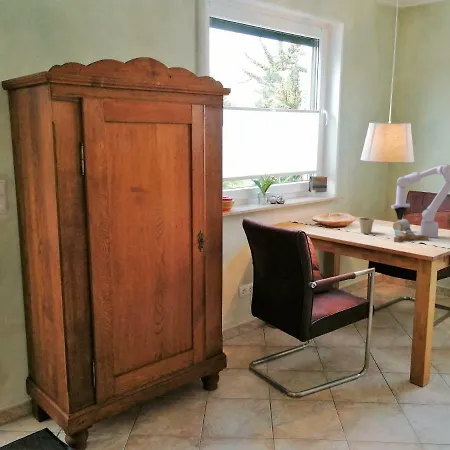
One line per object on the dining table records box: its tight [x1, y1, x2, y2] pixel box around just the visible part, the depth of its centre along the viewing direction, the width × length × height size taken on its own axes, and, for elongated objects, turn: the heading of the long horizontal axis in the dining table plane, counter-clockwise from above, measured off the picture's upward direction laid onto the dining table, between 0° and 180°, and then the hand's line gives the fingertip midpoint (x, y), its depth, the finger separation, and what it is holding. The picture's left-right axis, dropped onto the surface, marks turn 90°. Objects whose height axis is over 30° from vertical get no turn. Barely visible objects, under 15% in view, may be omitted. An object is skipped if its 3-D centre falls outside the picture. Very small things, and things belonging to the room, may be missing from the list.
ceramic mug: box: [392, 218, 412, 233], centre depth 306 cm, size 11×8×8 cm
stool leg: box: [394, 230, 408, 236], centre depth 292 cm, size 13×2×4 cm, turn 9°
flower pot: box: [358, 217, 375, 234], centre depth 304 cm, size 9×9×9 cm
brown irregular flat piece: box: [393, 232, 430, 243], centre depth 284 cm, size 22×13×3 cm, turn 92°
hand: (399, 219), depth 297 cm, fingers closed
